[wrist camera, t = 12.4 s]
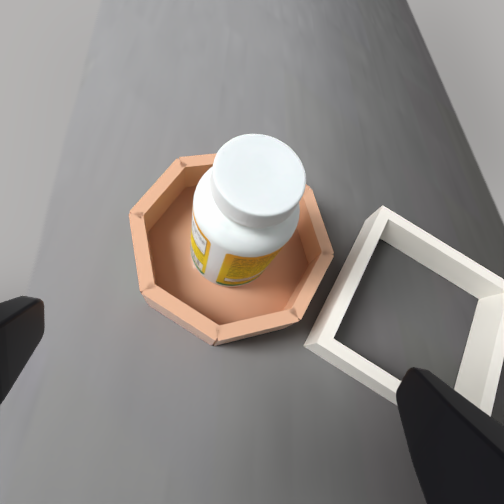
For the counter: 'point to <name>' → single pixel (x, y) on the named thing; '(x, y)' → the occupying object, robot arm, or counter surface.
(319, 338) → the tray
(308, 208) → the bowl
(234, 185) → the supplement bottle
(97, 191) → the counter surface
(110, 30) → the counter surface
